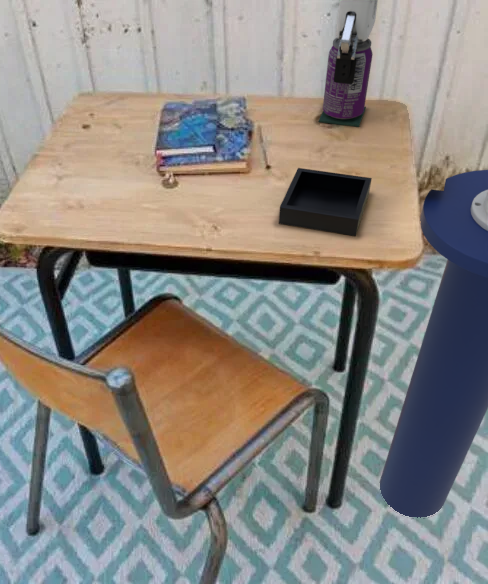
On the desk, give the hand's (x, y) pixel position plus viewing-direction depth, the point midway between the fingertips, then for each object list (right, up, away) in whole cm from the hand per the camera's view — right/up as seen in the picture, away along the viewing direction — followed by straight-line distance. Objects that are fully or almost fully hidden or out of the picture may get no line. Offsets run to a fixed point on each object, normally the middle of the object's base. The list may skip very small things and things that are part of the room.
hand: (348, 71), depth 109 cm
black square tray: (-7, -26, -14) cm, 31 cm away
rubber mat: (0, -5, +6) cm, 8 cm away
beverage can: (0, -5, +5) cm, 7 cm away
